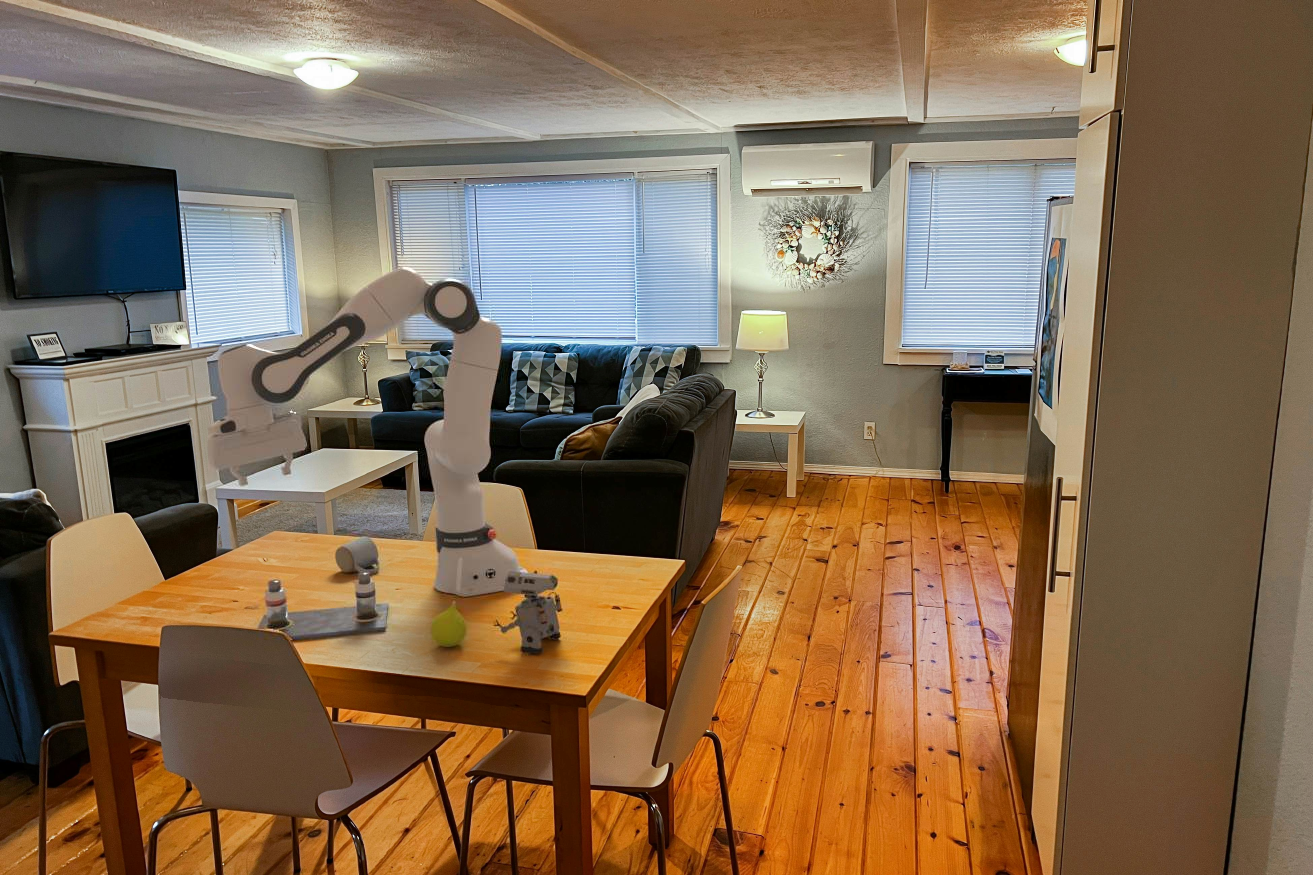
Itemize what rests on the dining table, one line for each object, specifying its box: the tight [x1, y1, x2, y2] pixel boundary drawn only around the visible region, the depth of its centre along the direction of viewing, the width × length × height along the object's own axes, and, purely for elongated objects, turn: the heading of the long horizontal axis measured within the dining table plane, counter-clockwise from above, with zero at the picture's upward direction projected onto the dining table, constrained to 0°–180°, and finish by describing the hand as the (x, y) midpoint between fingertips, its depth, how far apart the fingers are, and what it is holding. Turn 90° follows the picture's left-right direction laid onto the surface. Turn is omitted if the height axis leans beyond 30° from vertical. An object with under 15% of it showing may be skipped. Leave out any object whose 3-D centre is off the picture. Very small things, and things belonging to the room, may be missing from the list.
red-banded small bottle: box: [264, 578, 289, 628], centre depth 195 cm, size 4×4×10 cm
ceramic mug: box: [334, 535, 380, 576], centre depth 232 cm, size 11×8×8 cm
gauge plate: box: [256, 602, 389, 642], centre depth 198 cm, size 26×14×1 cm, turn 103°
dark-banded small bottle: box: [354, 572, 377, 619], centre depth 199 cm, size 4×4×10 cm
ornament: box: [430, 594, 468, 648], centre depth 185 cm, size 7×7×10 cm
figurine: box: [493, 570, 563, 656], centre depth 185 cm, size 9×12×15 cm
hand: (265, 479), depth 206 cm, fingers open, 8 cm apart
